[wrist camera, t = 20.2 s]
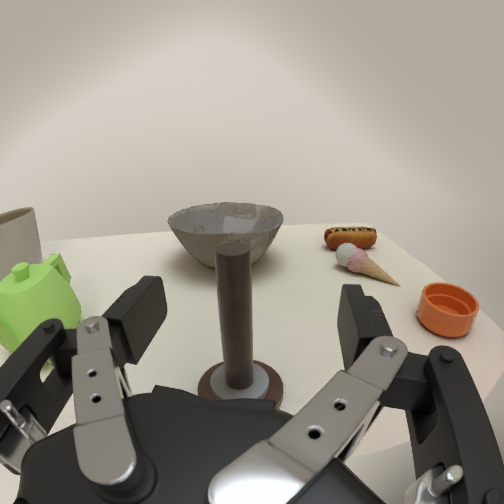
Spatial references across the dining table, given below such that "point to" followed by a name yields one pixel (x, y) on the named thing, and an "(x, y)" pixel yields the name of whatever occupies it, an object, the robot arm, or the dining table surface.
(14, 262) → the planter
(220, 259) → the masher
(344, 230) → the hot dog
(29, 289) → the teapot
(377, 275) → the ice cream cone
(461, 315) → the orange bowl
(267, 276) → the dining table surface
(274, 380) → the disc
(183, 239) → the ceramic bowl
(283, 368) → the dining table surface
